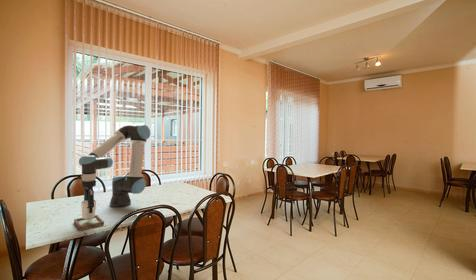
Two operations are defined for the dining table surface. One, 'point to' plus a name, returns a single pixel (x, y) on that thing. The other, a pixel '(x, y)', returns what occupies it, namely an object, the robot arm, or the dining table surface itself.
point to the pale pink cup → (85, 209)
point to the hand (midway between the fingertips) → (88, 216)
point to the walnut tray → (88, 222)
